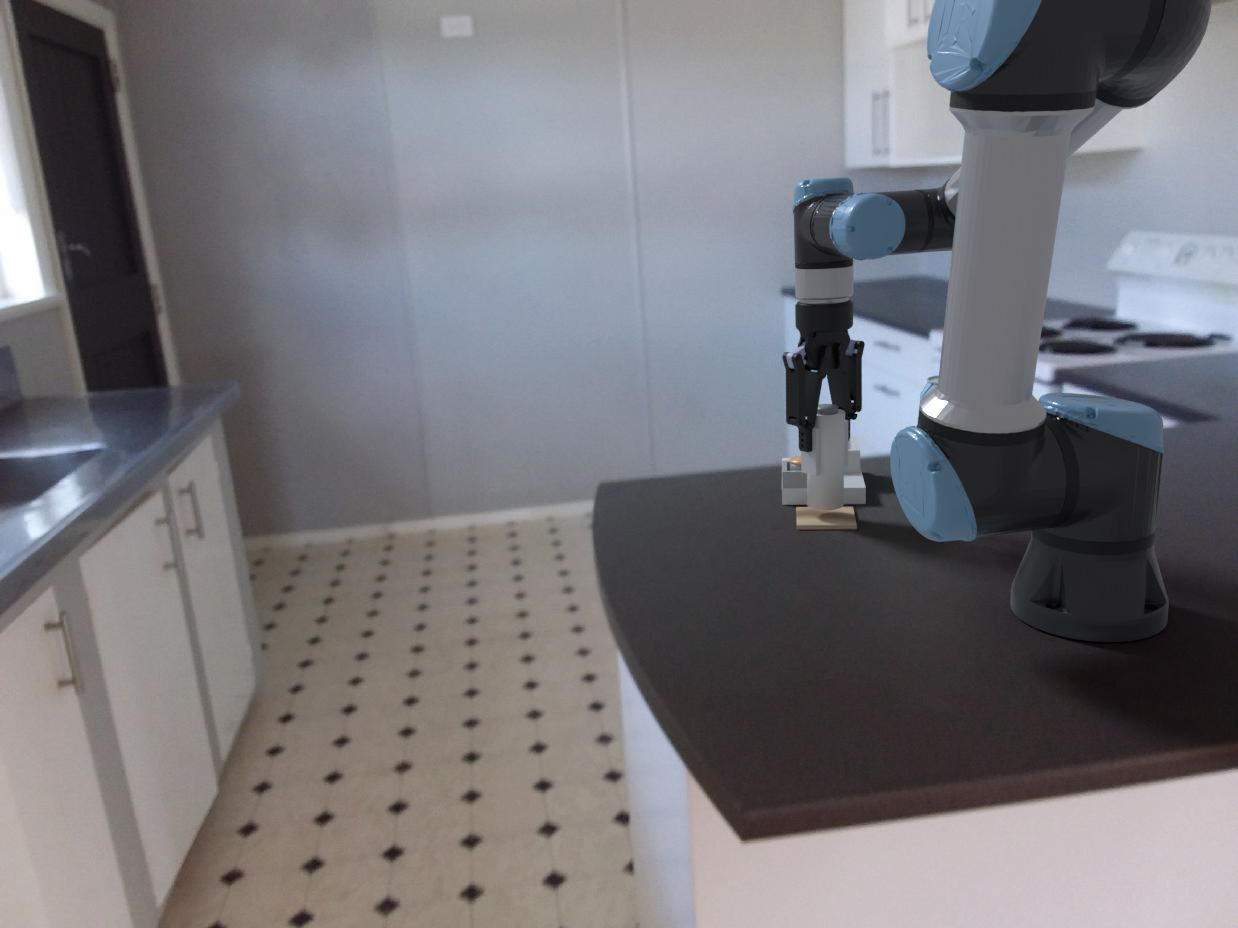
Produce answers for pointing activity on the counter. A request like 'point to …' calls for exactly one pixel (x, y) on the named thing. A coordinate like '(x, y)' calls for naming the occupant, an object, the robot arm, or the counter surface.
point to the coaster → (825, 518)
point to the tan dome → (795, 463)
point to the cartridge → (828, 460)
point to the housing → (853, 480)
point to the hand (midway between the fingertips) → (825, 468)
